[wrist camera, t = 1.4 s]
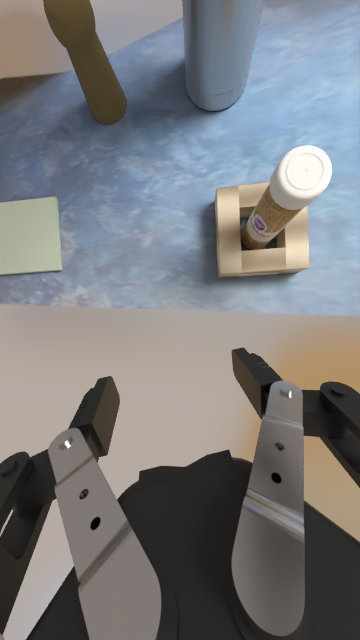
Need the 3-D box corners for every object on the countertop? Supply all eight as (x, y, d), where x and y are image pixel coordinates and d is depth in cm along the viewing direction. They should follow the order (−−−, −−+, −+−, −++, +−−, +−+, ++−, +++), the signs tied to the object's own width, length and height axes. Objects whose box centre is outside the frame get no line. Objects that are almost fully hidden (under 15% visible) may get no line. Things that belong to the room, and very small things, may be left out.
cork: (92, 85, 31) (34, -42, 20) (128, 86, 30) (89, -44, 19) (88, 124, 31) (30, 20, 20) (124, 125, 30) (84, 19, 19)
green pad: (-8, 206, 33) (-11, 203, 32) (57, 198, 32) (54, 196, 31) (-2, 275, 33) (-6, 274, 33) (62, 270, 32) (59, 269, 31)
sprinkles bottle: (234, 240, 29) (266, 178, 16) (252, 215, 29) (300, 131, 16) (258, 257, 29) (311, 208, 16) (277, 232, 29) (347, 161, 15)
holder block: (214, 200, 30) (216, 188, 27) (295, 192, 28) (306, 178, 25) (218, 277, 30) (220, 273, 27) (297, 272, 29) (309, 267, 26)
